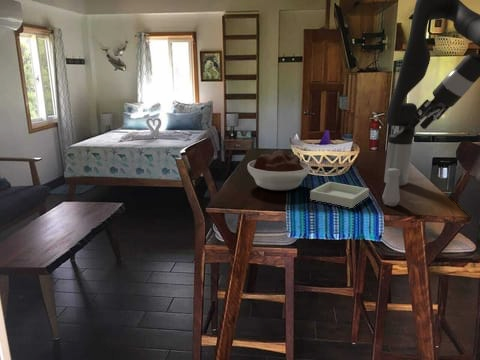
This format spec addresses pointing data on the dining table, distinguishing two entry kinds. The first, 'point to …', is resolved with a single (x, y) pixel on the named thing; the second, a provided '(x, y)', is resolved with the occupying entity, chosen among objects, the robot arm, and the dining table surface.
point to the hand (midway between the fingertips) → (416, 127)
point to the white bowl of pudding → (278, 171)
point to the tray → (339, 194)
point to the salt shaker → (392, 188)
